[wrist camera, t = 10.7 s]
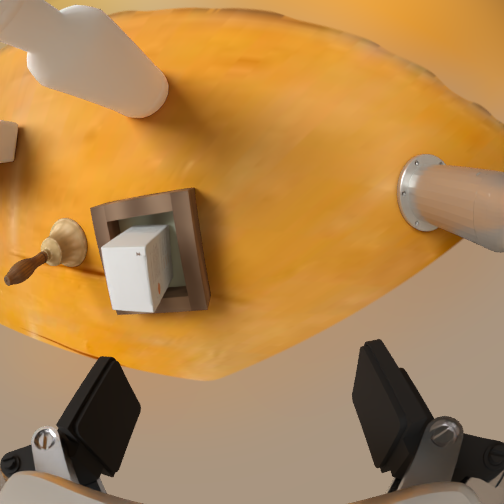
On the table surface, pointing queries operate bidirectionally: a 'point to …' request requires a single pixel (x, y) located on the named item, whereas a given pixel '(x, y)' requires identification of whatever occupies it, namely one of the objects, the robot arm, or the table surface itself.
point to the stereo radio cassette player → (8, 140)
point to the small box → (138, 267)
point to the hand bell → (53, 251)
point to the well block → (181, 241)
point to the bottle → (84, 56)
